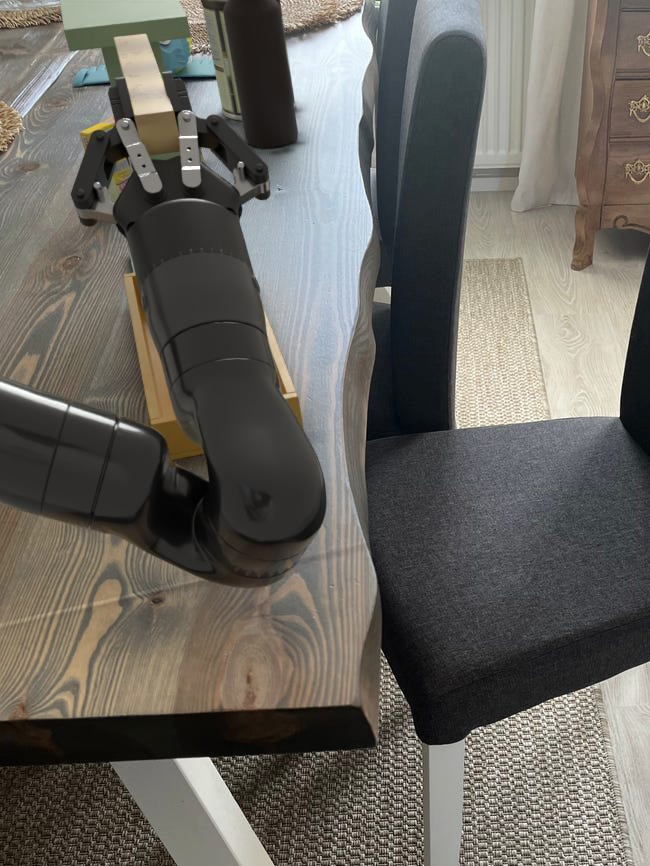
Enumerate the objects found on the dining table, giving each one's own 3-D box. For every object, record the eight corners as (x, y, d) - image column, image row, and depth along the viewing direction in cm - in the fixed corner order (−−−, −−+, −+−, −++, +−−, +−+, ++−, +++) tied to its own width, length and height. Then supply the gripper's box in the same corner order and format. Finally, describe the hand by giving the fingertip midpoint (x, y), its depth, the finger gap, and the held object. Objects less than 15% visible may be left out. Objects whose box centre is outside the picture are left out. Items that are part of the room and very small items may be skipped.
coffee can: (278, 92, 144) (261, -24, 134) (307, 112, 138) (292, -7, 128) (210, 105, 141) (187, -12, 131) (237, 127, 134) (215, 5, 124)
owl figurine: (257, -8, 150) (250, 22, 139) (268, 56, 156) (261, 90, 146) (67, 0, 149) (45, 32, 138) (85, 65, 155) (65, 100, 144)
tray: (304, 433, 83) (298, 396, 80) (161, 462, 80) (150, 425, 78) (250, 288, 101) (243, 254, 99) (132, 308, 99) (122, 273, 96)
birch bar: (182, 151, 69) (173, 110, 67) (144, 156, 68) (133, 115, 67) (154, 69, 82) (146, 33, 81) (122, 73, 82) (113, 37, 80)
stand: (241, 288, 101) (187, 16, 84) (140, 306, 99) (63, 29, 82) (221, 233, 111) (168, -22, 94) (129, 248, 108) (57, -11, 91)
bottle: (244, 133, 132) (211, -47, 118) (295, 128, 134) (269, -52, 119) (248, 151, 128) (215, -34, 114) (301, 145, 129) (275, -39, 115)
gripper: (104, 344, 68) (56, 137, 72) (305, 309, 71) (249, 112, 75) (77, 275, 61) (26, 50, 65) (302, 239, 64) (240, 26, 68)
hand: (146, 84), depth 70 cm, fingers closed on birch bar, 2 cm apart
